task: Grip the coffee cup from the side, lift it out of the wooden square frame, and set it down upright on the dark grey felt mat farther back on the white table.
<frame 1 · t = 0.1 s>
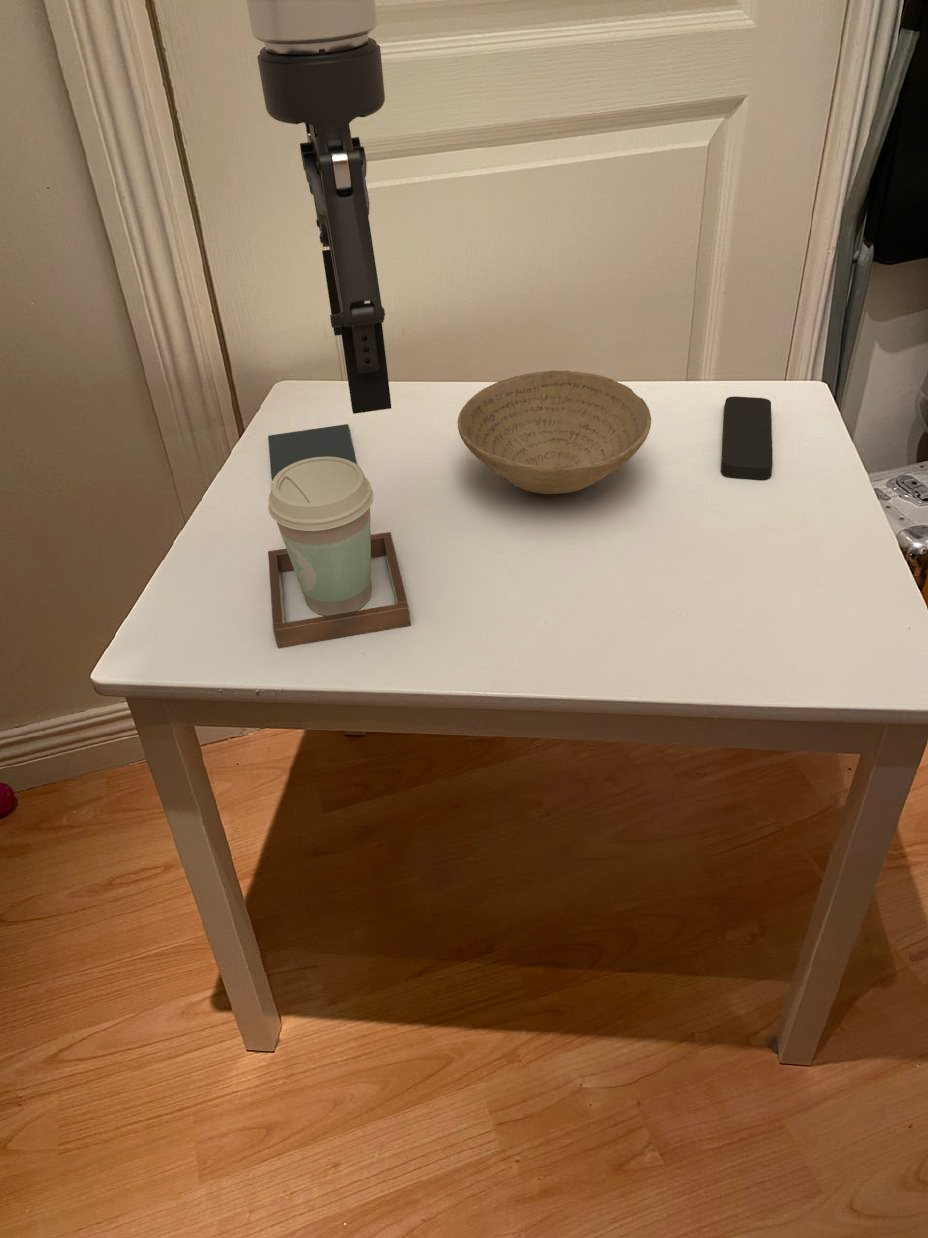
hand: (360, 367, 71), 21 cm above the table, tool pointing down, fingers open, 13 cm apart
wooden square frame: (338, 595, 83), on the table
remote control: (745, 442, 99), on the table
coffee cup: (338, 597, 83), resting in wooden square frame
bowl: (552, 484, 95), on the table
felt mat: (312, 454, 102), on the table
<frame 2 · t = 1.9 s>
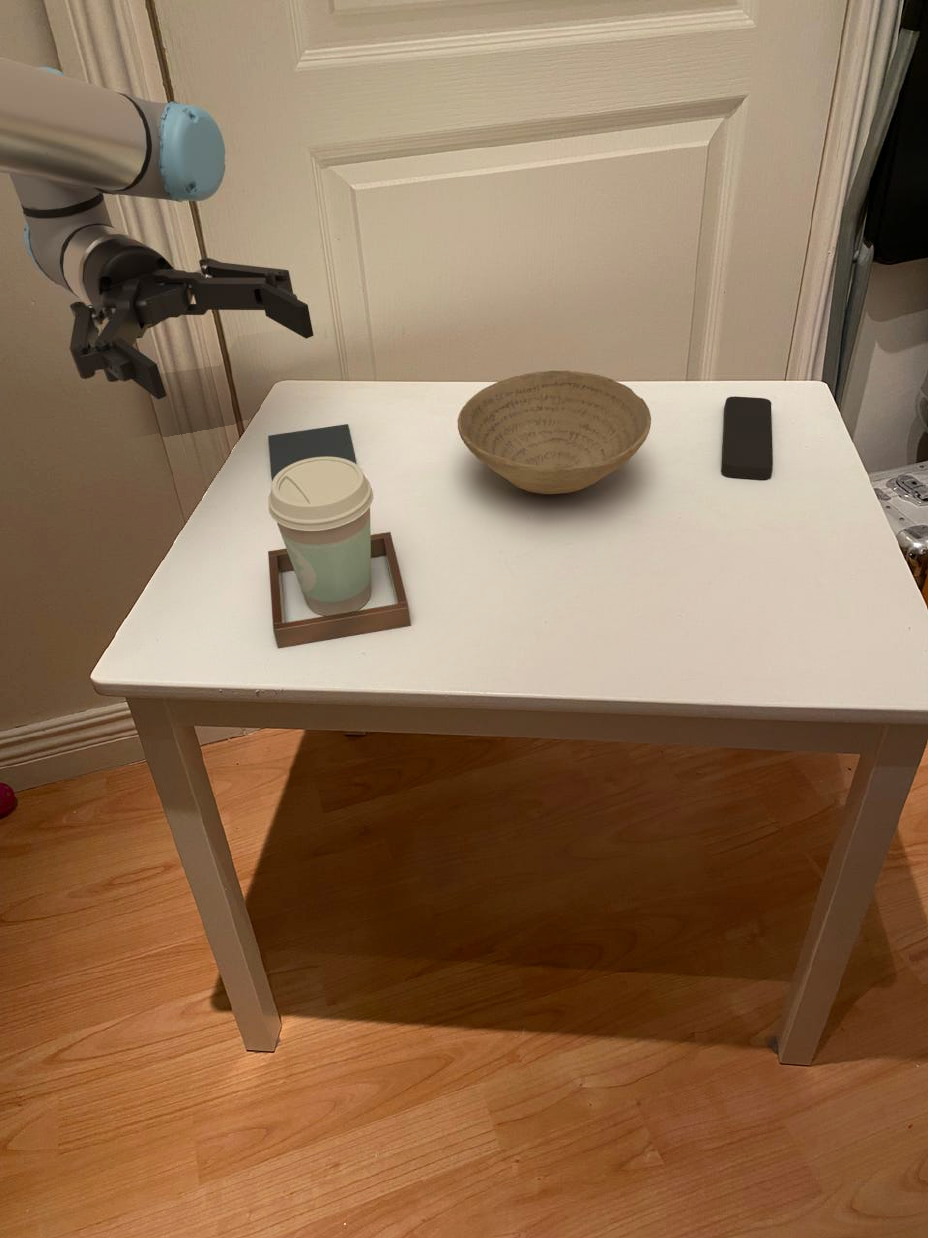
hand: (235, 350, 74), 21 cm above the table, tool horizontal, fingers open, 13 cm apart
nothing on the table moved.
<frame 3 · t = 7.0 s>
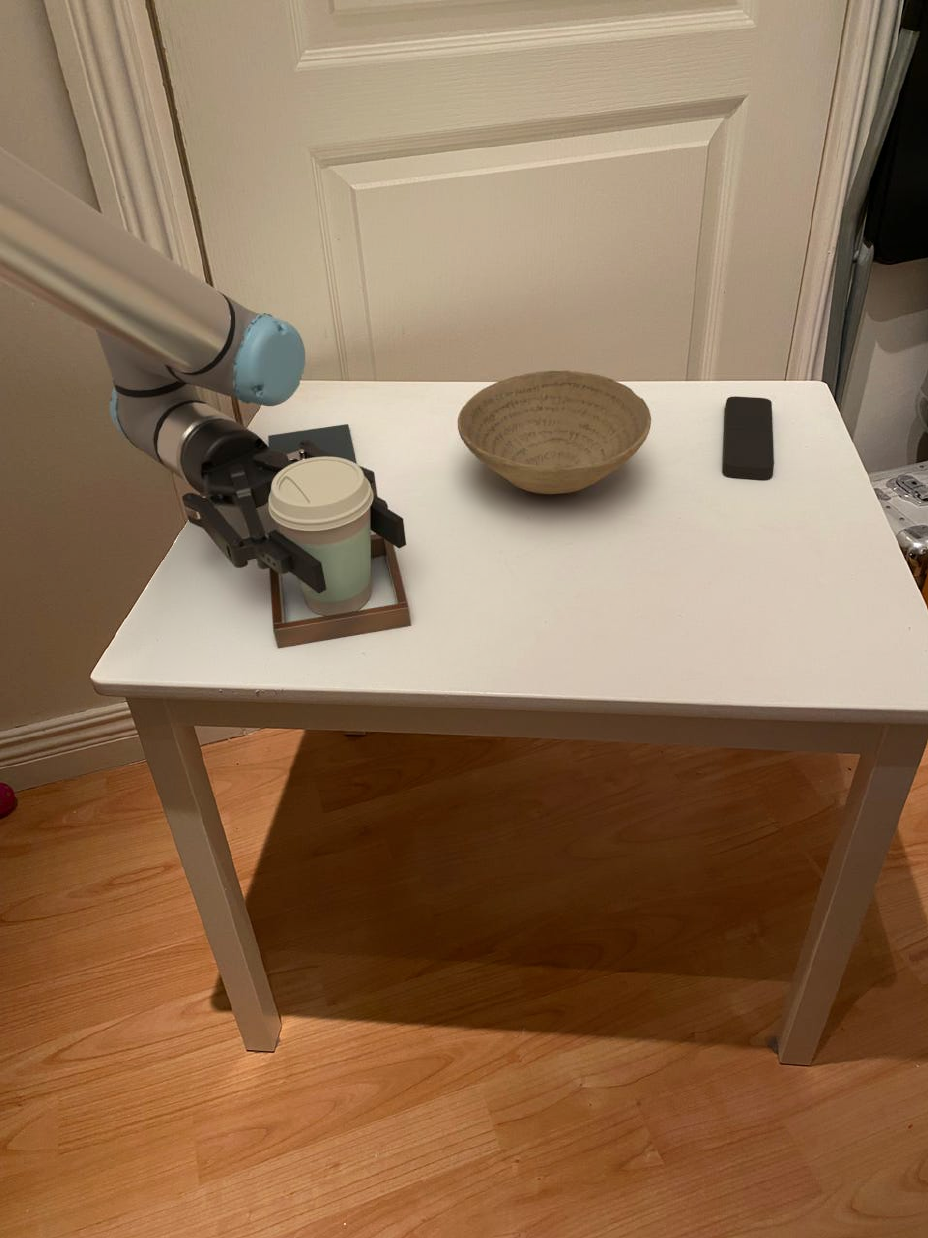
hand: (361, 555, 76), 7 cm above the table, tool horizontal, fingers closed on coffee cup, 8 cm apart
coffee cup: (338, 597, 83), resting in wooden square frame, touching gripper
everything else where it was.
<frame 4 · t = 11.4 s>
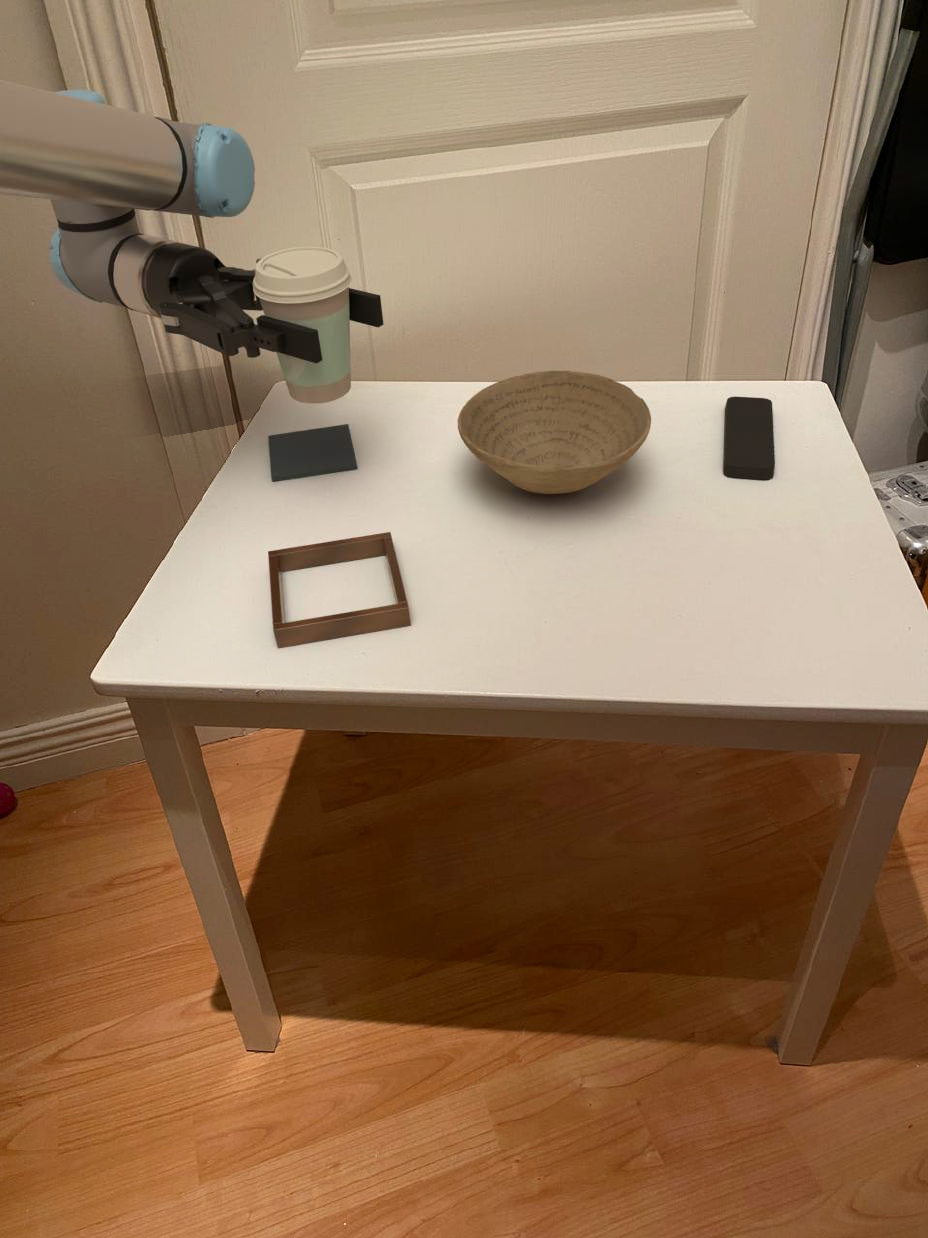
hand: (348, 328, 81), 19 cm above the table, tool horizontal, fingers closed on coffee cup, 8 cm apart
coffee cup: (320, 391, 88), point 11 cm above the table, touching gripper
everything else where it was.
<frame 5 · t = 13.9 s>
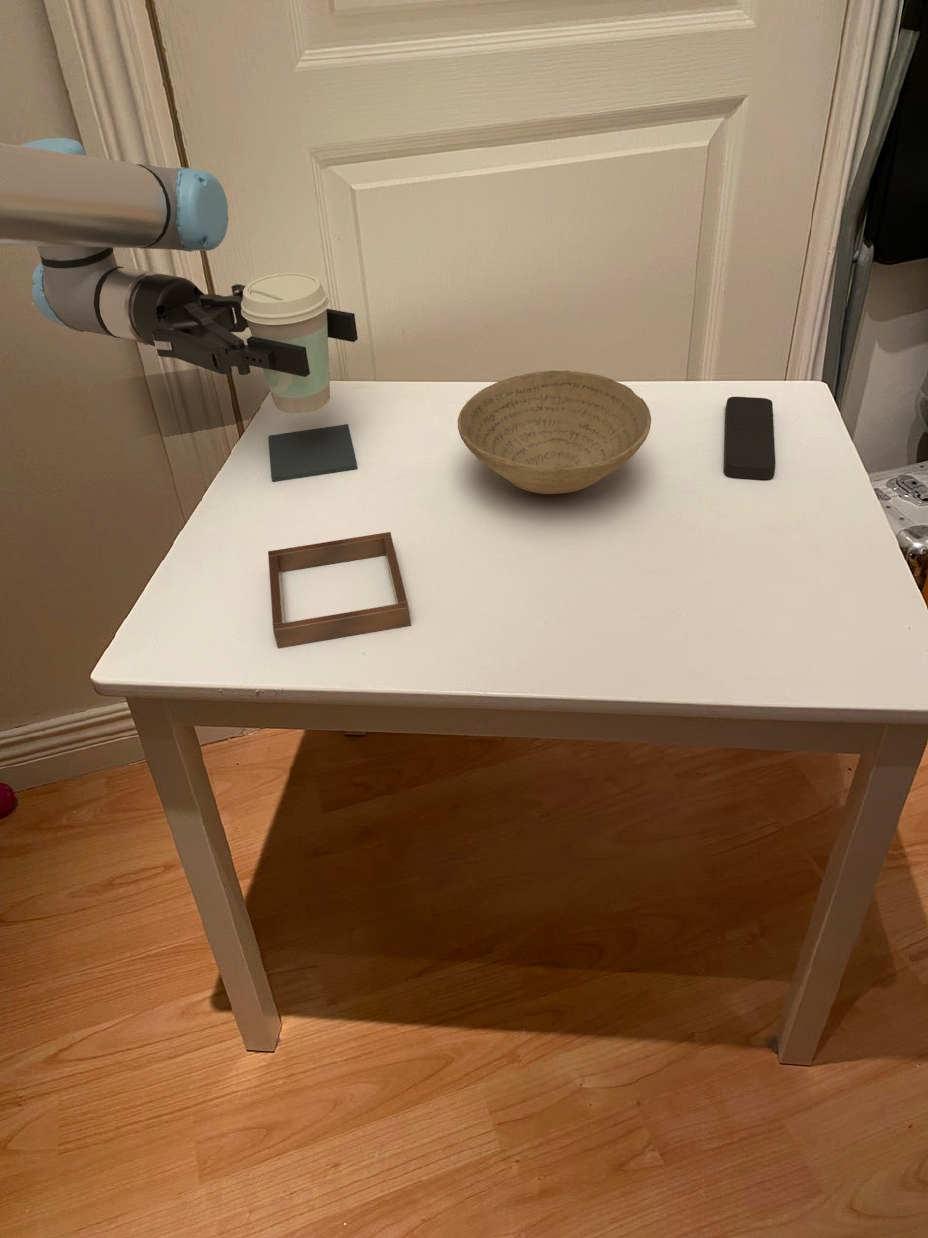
hand: (330, 344, 91), 13 cm above the table, tool horizontal, fingers closed on coffee cup, 8 cm apart
coffee cup: (302, 401, 98), point 6 cm above the table, touching gripper
everything else where it was.
when the fingers open (8 cm above the table, at t = 15.9 s): coffee cup stays where it is, resting on felt mat.
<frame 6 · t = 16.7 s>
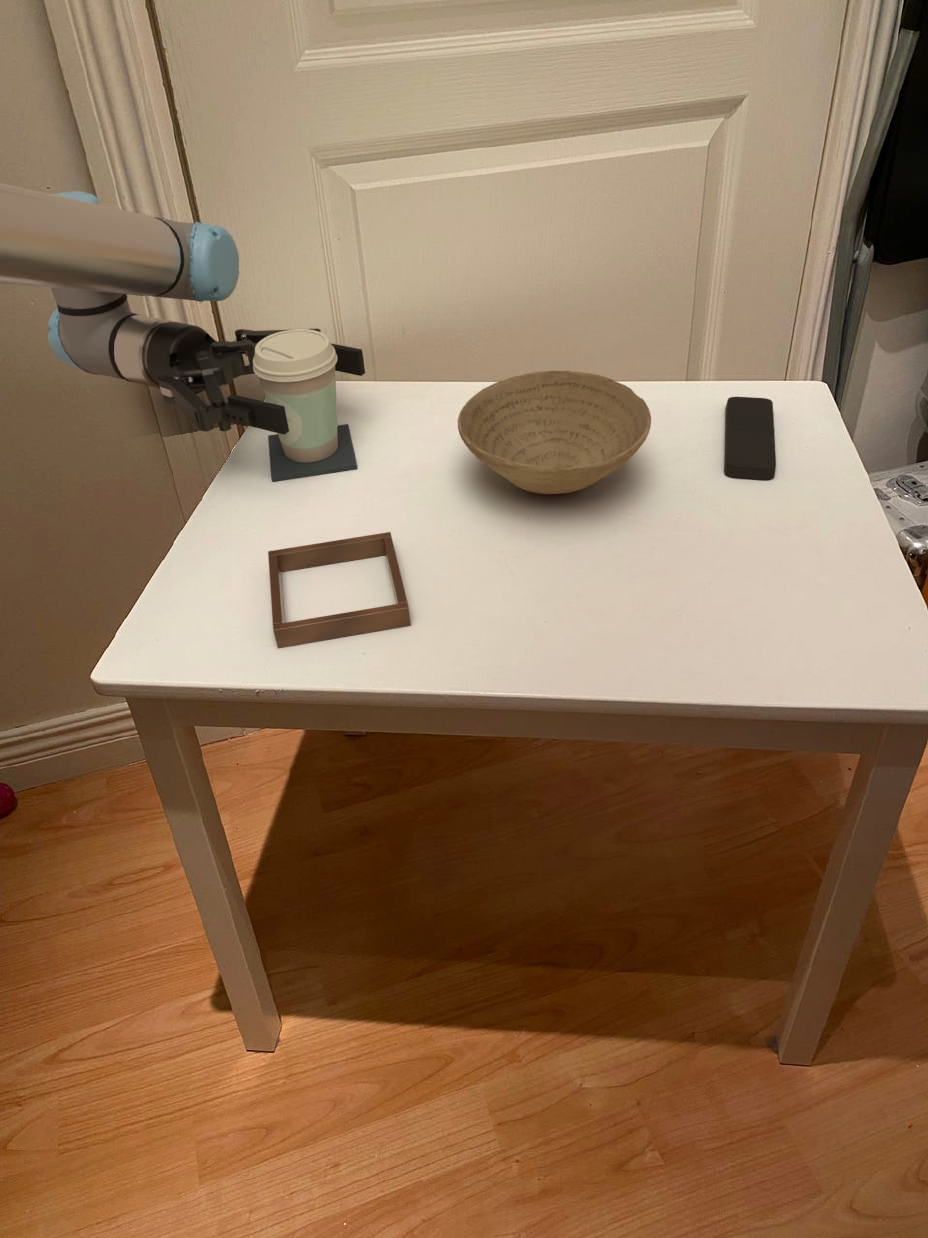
hand: (325, 390, 95), 8 cm above the table, tool horizontal, fingers open, 13 cm apart
coffee cup: (311, 450, 102), resting on felt mat
everything else where it was.
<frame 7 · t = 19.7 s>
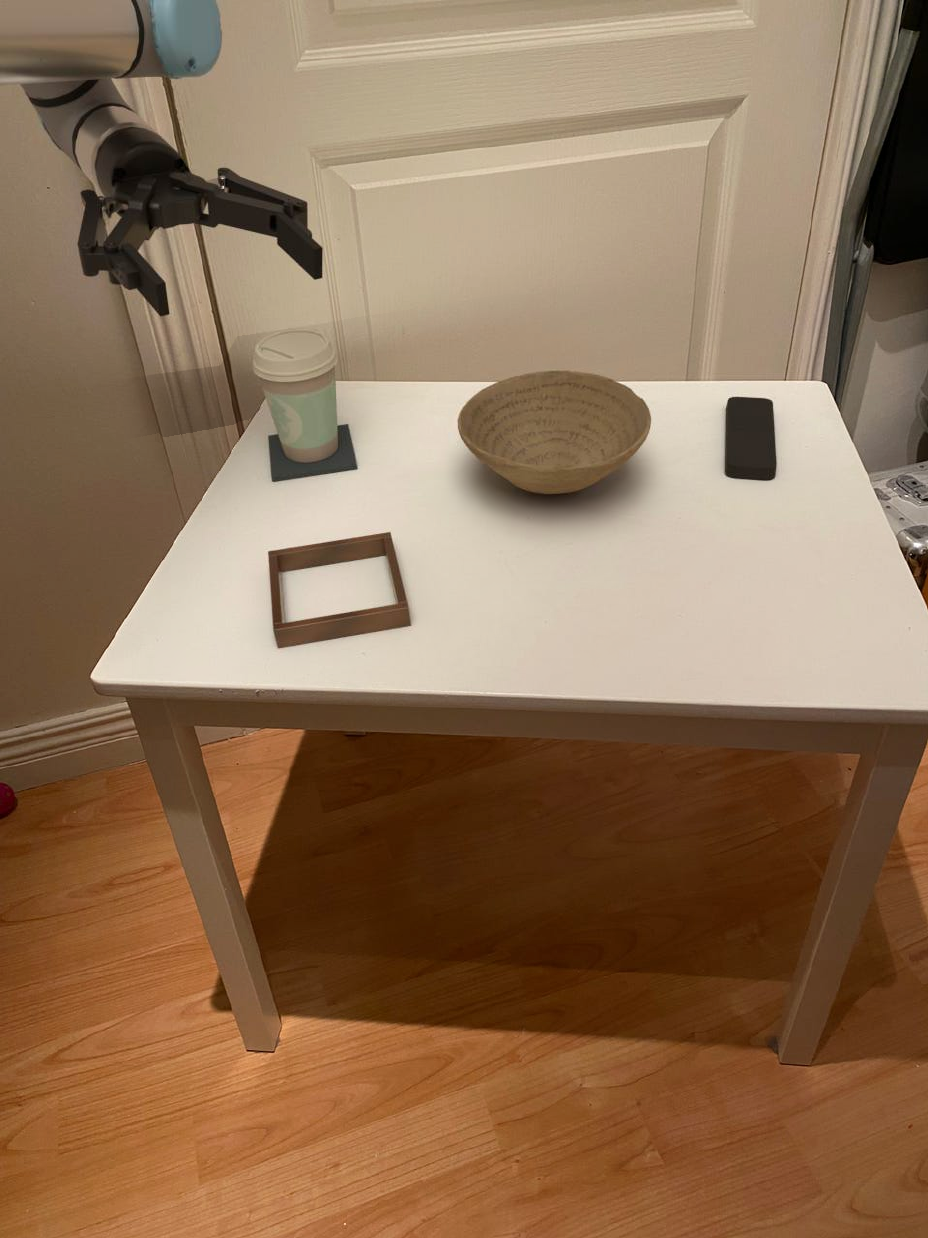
hand: (244, 281, 75), 25 cm above the table, tool horizontal, fingers open, 13 cm apart
nothing on the table moved.
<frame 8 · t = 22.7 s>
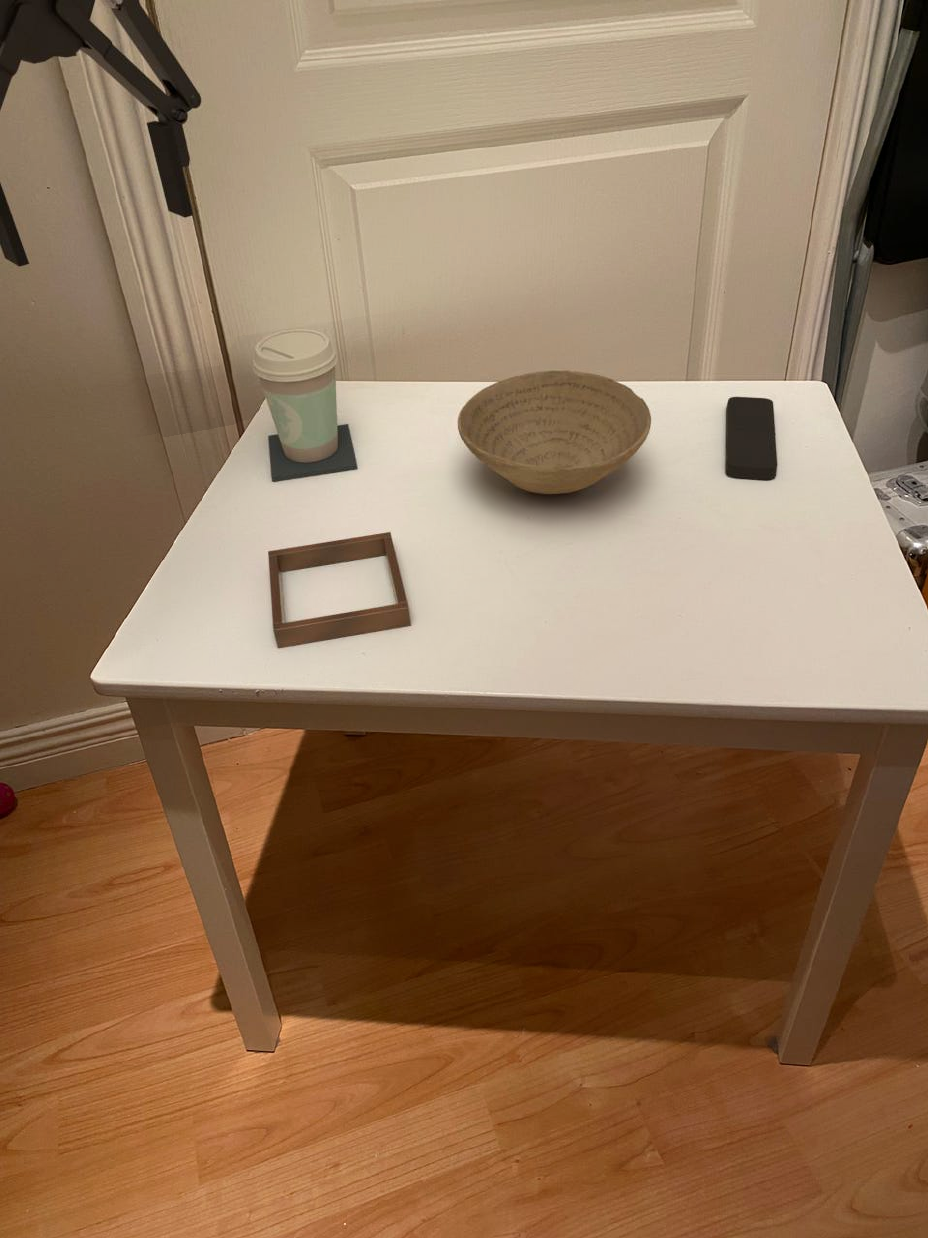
hand: (102, 236, 72), 29 cm above the table, tool pointing down, fingers open, 13 cm apart
nothing on the table moved.
at the end: coffee cup inside the target area on the felt mat (0.0 cm from its centre), point 0.4 cm above the felt mat's base; coffee cup tilted 0°; the gripper is holding nothing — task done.
